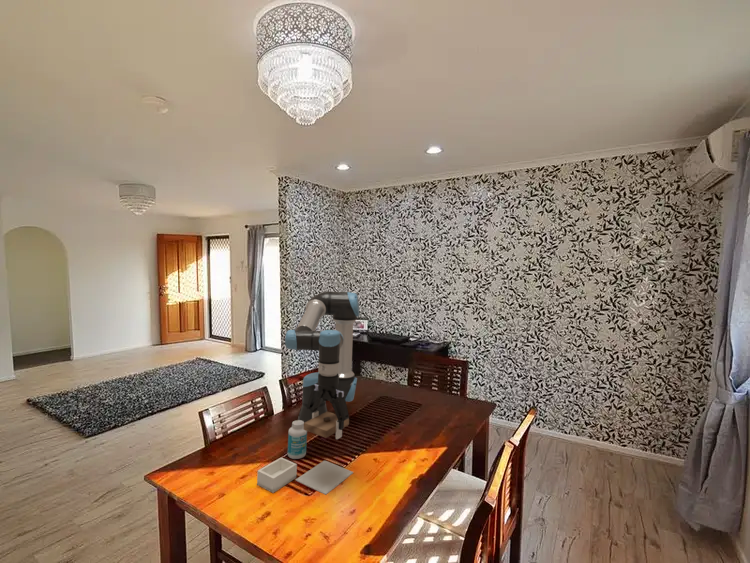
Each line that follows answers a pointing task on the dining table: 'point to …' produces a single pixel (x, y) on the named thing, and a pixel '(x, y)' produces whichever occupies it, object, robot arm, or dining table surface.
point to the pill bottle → (297, 440)
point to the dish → (276, 474)
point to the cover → (323, 424)
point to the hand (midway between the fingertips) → (326, 433)
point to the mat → (324, 477)
